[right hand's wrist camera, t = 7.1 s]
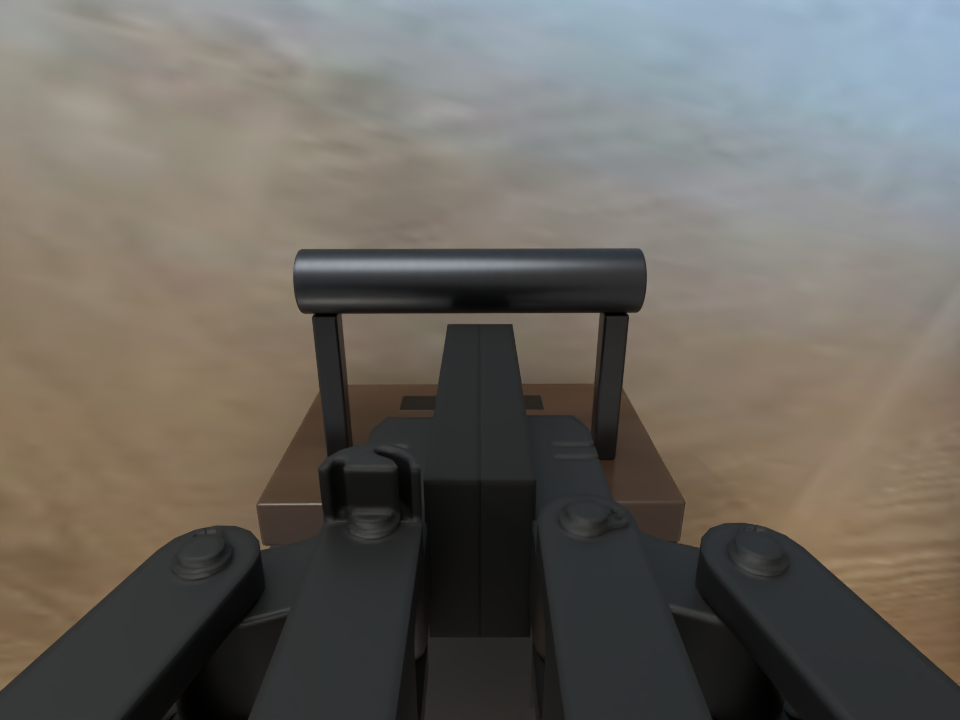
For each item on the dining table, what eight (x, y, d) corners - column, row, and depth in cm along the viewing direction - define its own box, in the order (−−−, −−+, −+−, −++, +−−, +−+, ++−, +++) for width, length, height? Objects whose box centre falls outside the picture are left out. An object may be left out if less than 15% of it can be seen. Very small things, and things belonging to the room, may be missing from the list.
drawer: (304, 218, 18) (216, 272, 12) (636, 217, 18) (721, 271, 12) (362, 765, 27) (329, 960, 21) (585, 762, 27) (619, 956, 21)
